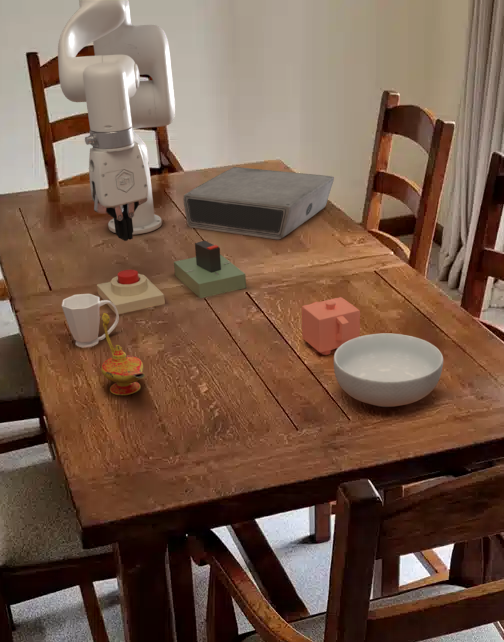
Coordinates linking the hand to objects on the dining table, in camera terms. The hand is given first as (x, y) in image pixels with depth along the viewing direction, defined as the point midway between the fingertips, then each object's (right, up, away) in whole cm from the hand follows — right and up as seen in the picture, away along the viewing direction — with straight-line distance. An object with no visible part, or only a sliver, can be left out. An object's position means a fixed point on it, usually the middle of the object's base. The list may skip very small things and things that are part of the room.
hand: (125, 238), depth 181 cm
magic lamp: (+4, -32, -25) cm, 41 cm away
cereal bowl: (+46, -34, -30) cm, 64 cm away
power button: (0, -7, +5) cm, 9 cm away
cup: (-4, -21, -8) cm, 23 cm away
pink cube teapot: (+38, -23, -14) cm, 46 cm away
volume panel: (+16, -5, +13) cm, 21 cm away
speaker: (+25, +17, +44) cm, 53 cm away
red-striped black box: (+15, -3, +11) cm, 19 cm away
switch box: (0, -10, +7) cm, 12 cm away
